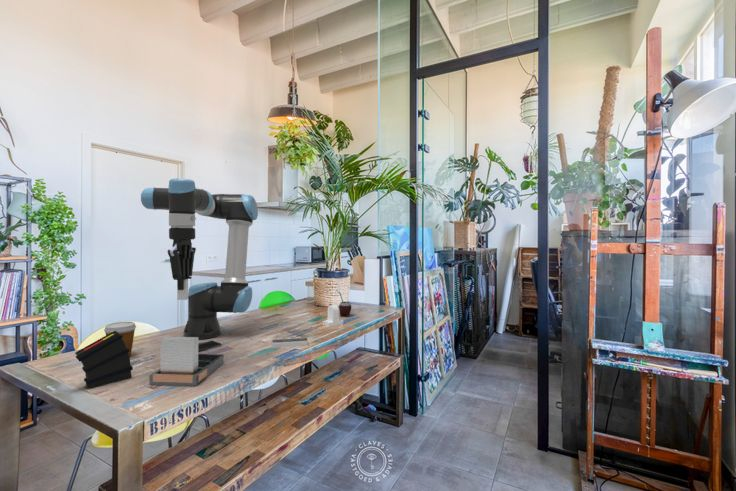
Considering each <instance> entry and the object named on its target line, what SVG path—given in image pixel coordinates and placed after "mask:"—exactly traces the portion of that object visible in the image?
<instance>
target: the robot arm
mask: <svg viewBox="0 0 736 491" xmlns="http://www.w3.org/2000/svg"><path fill="white" fill-rule="evenodd" d="M140 201H141V204H142V206H143V207H144V208H146V209H147V210H154V211H156V210H165V211H168V226H169V229H168V239H169V240H172V245H171V246H172V248H171V249H168V250H167V255H168V256H169V263H170V270H171V275H172V276H171V277H172V279H173V280H174V281H176V282H177V286H176V287H177V289H176V290H177V301H186V300H187V303H188V304H187V321H186V324H185V327H184V330H183V333H182V334H183V336H182V337H198V340H206V339H212V338H215V337H218V336H220V335H221V334H222V331H221V330H222V328H221V325H220V322H219V319H218V313H233V314H238V313H245V312H246V311H247V310H248V309H249V307H250V305H251V302H252V299H253V289H252V288H253V287H251V286H249V281H247V279H246V275H247V274H246V273H247V272H246V271H247V258H248V242H249V230H250V227H251V226H252V225H253V223H254V222H253V221H256V220H257V219H258V215H259V214H258V213H259V211H258V210H259V209H258V205H257V200H256V199H255V197H254V195H251V194H242V193H240V194H239V193H238V194H237V193H236V194H235V193H234V194H231V193H229V194H228V193H215V194H211V192H209V191H208V190H206V189H203V188H201V189H200V188H197V187H196V183H195V181H194V180H193V179H189V178H188V179H187V178H178V177H177V178H171V179H169V180H168V187H155V186H154V187H146V188H144V189H143V190H142V191H141V193H140ZM196 214H198V215H200V216H202V217H209V218H214V219H218V220H219V219H220V220H225V223H226V224H227V225H228V233H227V234H228V235H227V246H226V247H227V248H226V259H225V260H226V261H225V271H224V278H223V280H221V281H220V285H218V282H205V283H204V282H203V283H198V284H194V285H191V286H190V287H189V280H191V279H192V277H193V269H194V260H195V254H196V251H197V248H196V247H193V244H192V240H195V239H196V229H195V228H194V227H196V220H197V218H196Z"/></svg>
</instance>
